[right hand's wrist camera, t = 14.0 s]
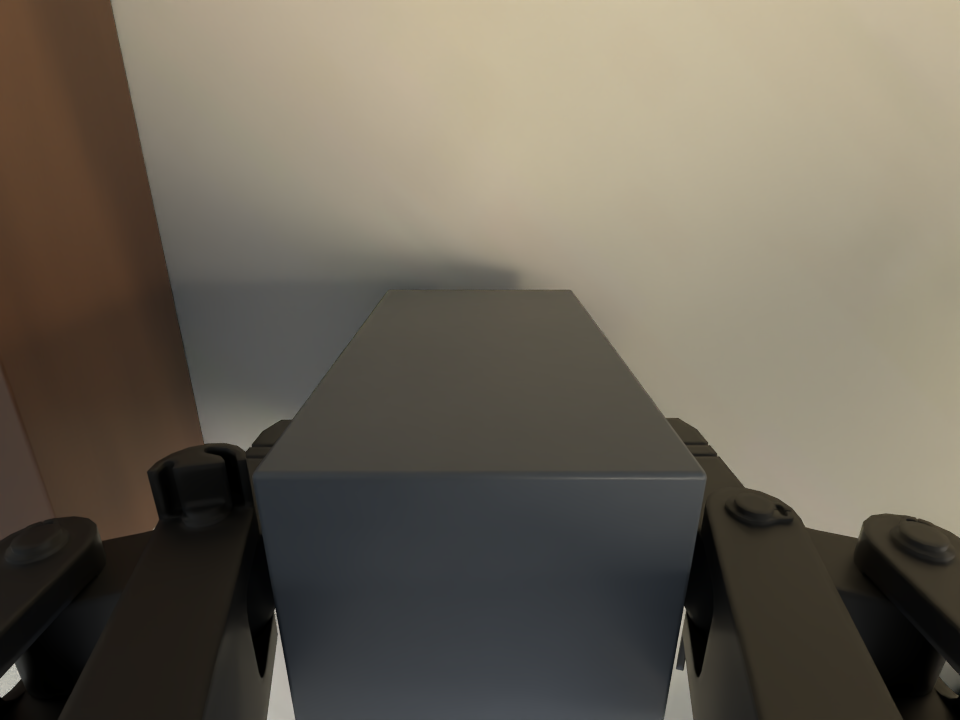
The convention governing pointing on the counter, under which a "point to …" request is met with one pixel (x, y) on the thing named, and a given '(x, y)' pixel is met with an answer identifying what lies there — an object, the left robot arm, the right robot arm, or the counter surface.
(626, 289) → the counter surface
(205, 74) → the counter surface
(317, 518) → the grey block
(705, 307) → the counter surface
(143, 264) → the walnut rail
